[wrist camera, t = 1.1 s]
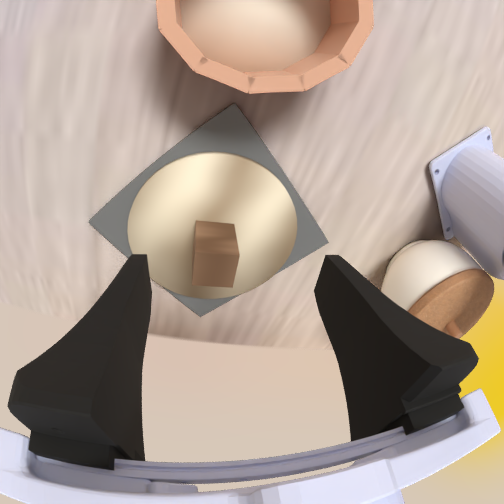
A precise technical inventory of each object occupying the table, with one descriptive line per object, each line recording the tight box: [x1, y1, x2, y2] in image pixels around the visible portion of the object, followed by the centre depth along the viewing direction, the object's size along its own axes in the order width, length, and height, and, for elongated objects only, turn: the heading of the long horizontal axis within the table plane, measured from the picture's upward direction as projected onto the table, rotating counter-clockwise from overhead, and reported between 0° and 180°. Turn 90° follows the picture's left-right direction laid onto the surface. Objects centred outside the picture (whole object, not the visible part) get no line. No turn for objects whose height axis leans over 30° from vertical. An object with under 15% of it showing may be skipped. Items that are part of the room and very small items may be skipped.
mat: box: [89, 103, 329, 317], centre depth 22 cm, size 13×13×1 cm
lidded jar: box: [381, 240, 494, 339], centre depth 24 cm, size 11×11×9 cm
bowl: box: [156, 0, 374, 94], centre depth 11 cm, size 10×10×4 cm
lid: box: [127, 151, 297, 299], centre depth 20 cm, size 12×12×4 cm
